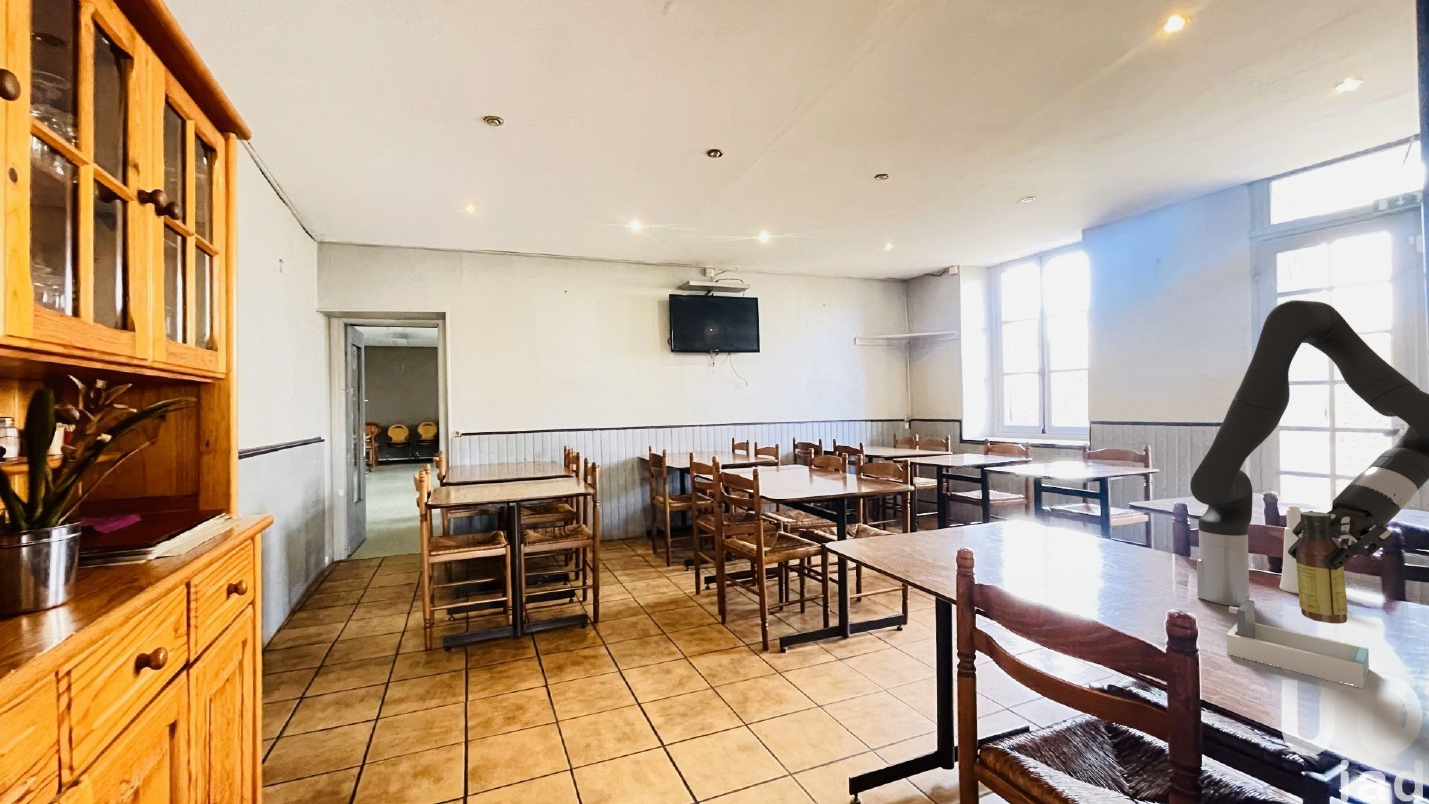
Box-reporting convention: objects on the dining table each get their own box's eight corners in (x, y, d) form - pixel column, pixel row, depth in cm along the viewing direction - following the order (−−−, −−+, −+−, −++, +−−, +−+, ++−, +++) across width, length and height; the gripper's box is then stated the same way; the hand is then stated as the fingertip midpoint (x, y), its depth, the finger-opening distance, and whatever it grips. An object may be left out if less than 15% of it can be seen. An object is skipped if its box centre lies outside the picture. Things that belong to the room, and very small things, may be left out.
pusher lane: (1226, 654, 114) (1226, 634, 114) (1240, 638, 121) (1239, 619, 121) (1362, 688, 100) (1362, 666, 100) (1368, 668, 107) (1368, 647, 107)
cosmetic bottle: (1286, 592, 147) (1284, 507, 147) (1274, 585, 153) (1272, 503, 153) (1317, 595, 145) (1315, 508, 145) (1305, 588, 150) (1303, 504, 150)
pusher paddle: (1225, 645, 116) (1224, 606, 116) (1235, 633, 121) (1234, 597, 121) (1245, 650, 113) (1244, 611, 113) (1255, 638, 118) (1254, 600, 118)
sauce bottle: (1336, 615, 109) (1333, 511, 109) (1356, 627, 104) (1352, 517, 104) (1290, 610, 112) (1287, 509, 112) (1307, 622, 106) (1303, 515, 106)
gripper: (1319, 478, 115) (1260, 538, 115) (1403, 489, 100) (1334, 558, 101) (1348, 504, 114) (1288, 564, 115) (1436, 518, 100) (1367, 587, 101)
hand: (1310, 561), depth 108 cm, fingers closed on sauce bottle, 6 cm apart
